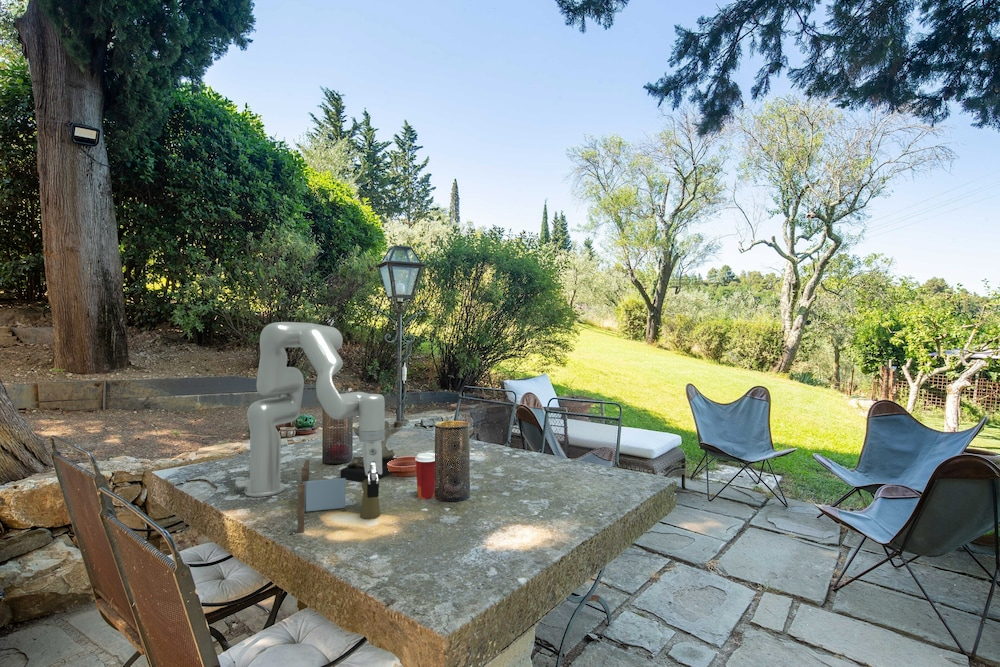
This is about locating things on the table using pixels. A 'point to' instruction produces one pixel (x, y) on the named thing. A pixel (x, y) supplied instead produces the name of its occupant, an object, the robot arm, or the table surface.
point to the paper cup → (425, 475)
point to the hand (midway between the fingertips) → (371, 491)
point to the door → (324, 494)
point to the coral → (356, 466)
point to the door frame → (302, 496)
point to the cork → (369, 504)
